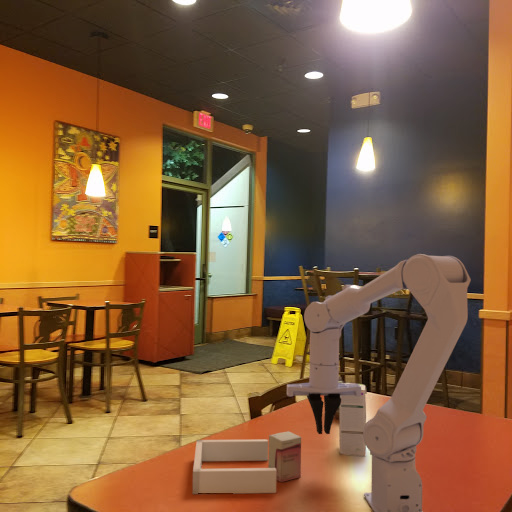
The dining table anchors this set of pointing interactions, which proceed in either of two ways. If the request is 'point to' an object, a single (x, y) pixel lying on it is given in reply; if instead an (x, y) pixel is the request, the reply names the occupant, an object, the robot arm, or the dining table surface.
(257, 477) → the u-shaped bracket
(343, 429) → the syrup box
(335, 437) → the dining table surface
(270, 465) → the small box
